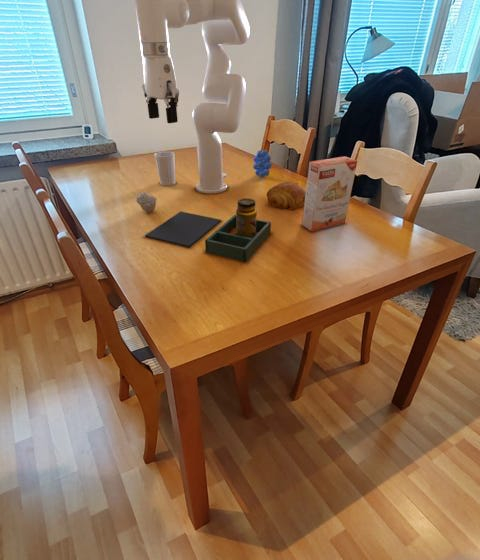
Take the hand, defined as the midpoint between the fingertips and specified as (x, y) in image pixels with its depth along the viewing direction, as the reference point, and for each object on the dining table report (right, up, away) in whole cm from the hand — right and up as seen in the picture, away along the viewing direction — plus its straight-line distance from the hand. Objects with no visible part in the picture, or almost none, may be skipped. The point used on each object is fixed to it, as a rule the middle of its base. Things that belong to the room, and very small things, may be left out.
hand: (163, 120), depth 104 cm
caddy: (+22, -36, +3) cm, 42 cm away
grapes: (+33, -2, +53) cm, 62 cm away
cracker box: (+50, -29, +13) cm, 59 cm away
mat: (+5, -30, +11) cm, 32 cm away
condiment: (+24, -34, +5) cm, 42 cm away
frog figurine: (-10, -23, +22) cm, 33 cm away
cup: (-8, -6, +46) cm, 48 cm away
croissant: (+40, -18, +29) cm, 53 cm away
